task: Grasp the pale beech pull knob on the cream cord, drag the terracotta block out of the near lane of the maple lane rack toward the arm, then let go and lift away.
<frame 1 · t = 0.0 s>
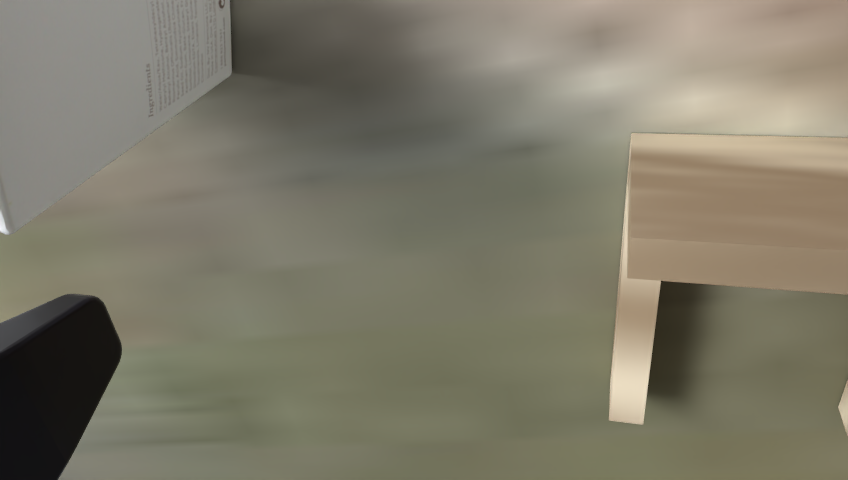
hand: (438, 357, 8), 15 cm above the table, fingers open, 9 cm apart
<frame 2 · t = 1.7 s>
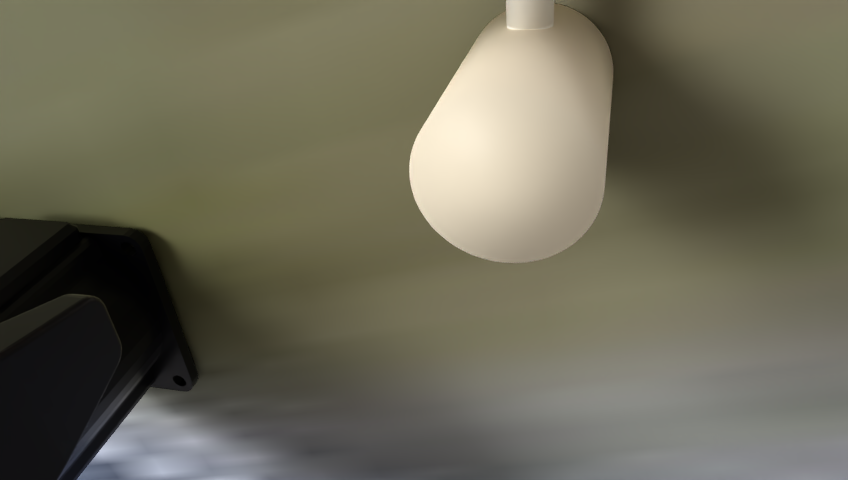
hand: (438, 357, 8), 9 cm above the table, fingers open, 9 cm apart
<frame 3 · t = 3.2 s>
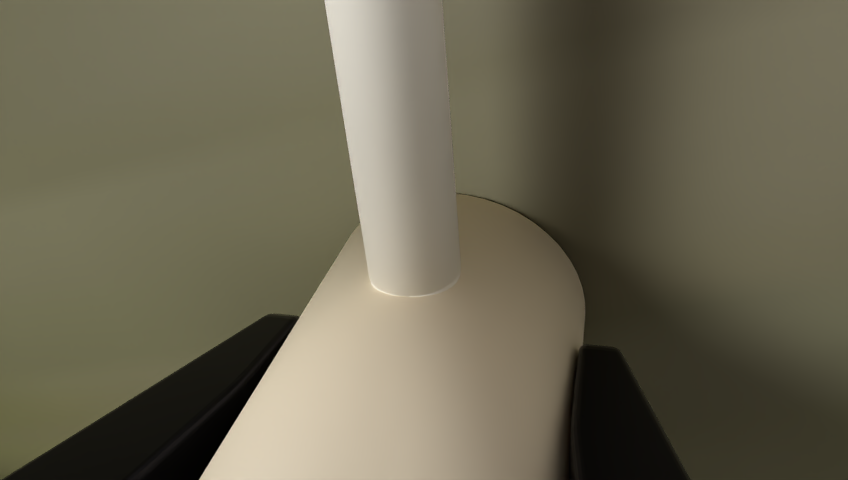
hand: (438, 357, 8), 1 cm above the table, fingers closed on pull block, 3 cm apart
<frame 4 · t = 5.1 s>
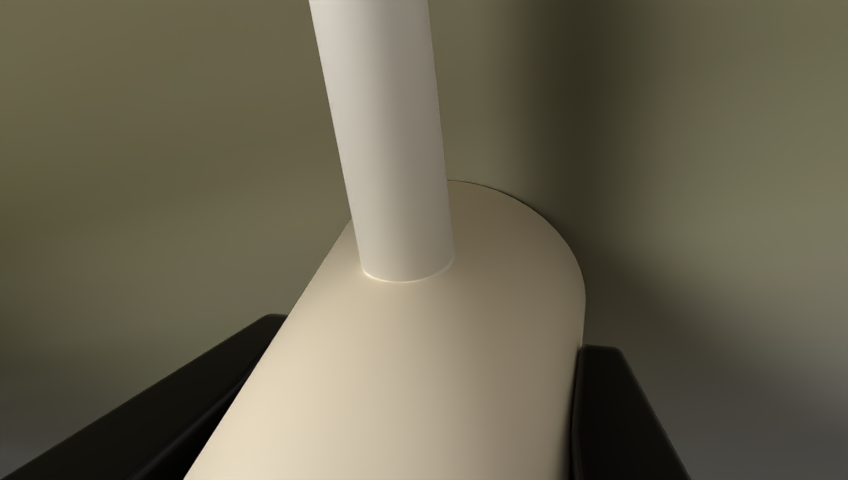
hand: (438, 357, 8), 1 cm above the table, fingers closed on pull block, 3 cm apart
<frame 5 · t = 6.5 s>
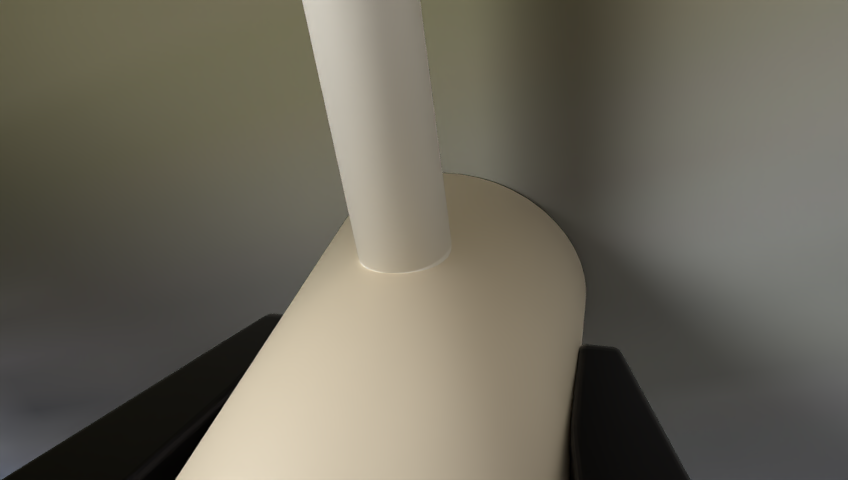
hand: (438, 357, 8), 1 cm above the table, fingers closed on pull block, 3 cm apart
when the fingers open (1 cm above the table, at t = 7.2 s): pull block stays where it is, on the table.
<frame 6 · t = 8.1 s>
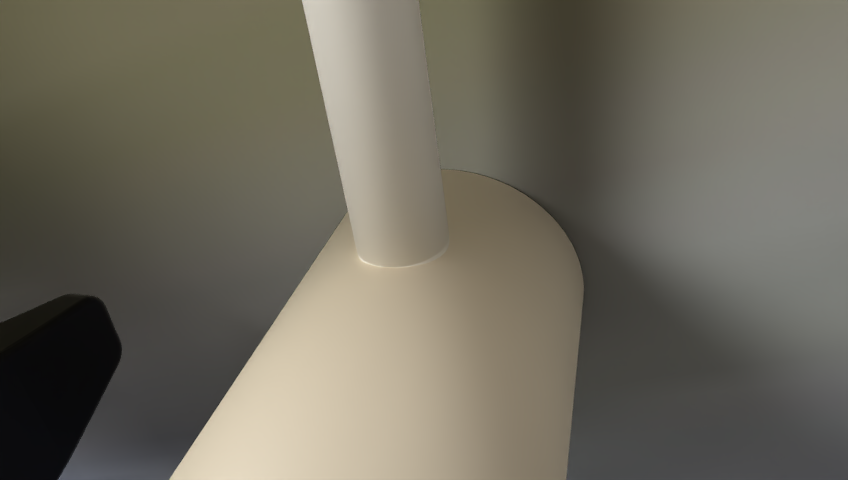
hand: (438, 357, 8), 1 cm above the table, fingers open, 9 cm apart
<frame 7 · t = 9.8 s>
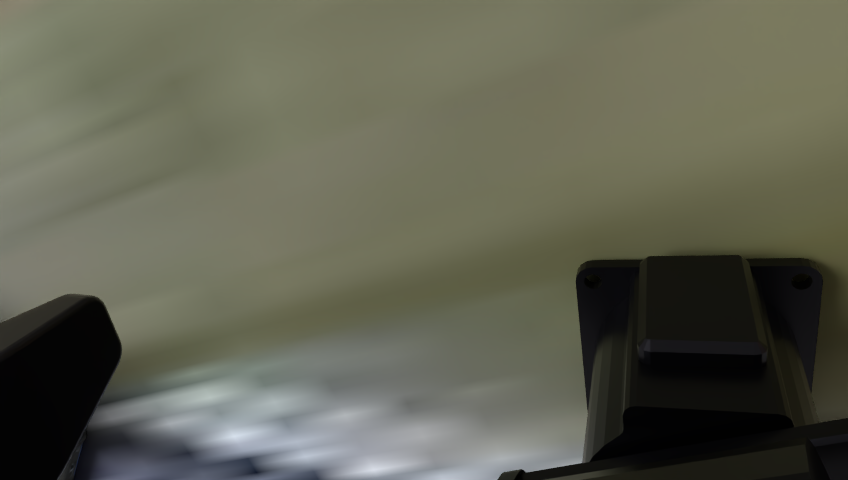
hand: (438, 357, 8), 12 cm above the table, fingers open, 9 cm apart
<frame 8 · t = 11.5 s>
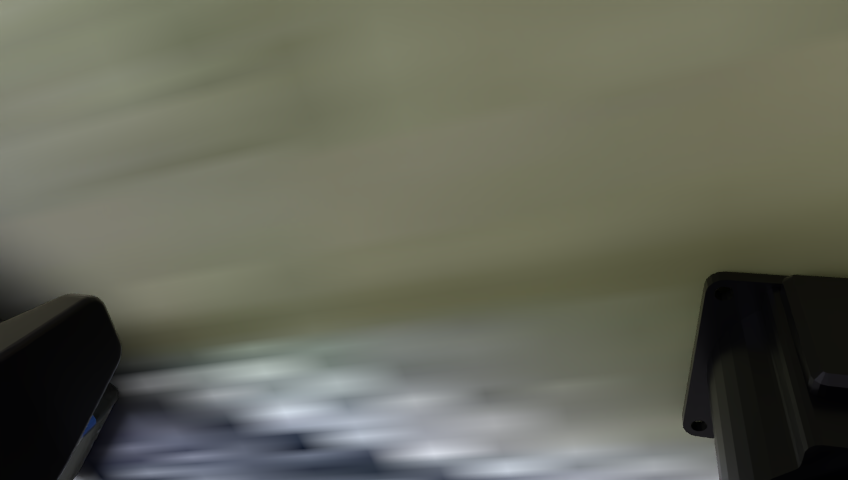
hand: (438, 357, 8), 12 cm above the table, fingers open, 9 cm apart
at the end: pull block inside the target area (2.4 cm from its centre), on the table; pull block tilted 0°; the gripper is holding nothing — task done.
